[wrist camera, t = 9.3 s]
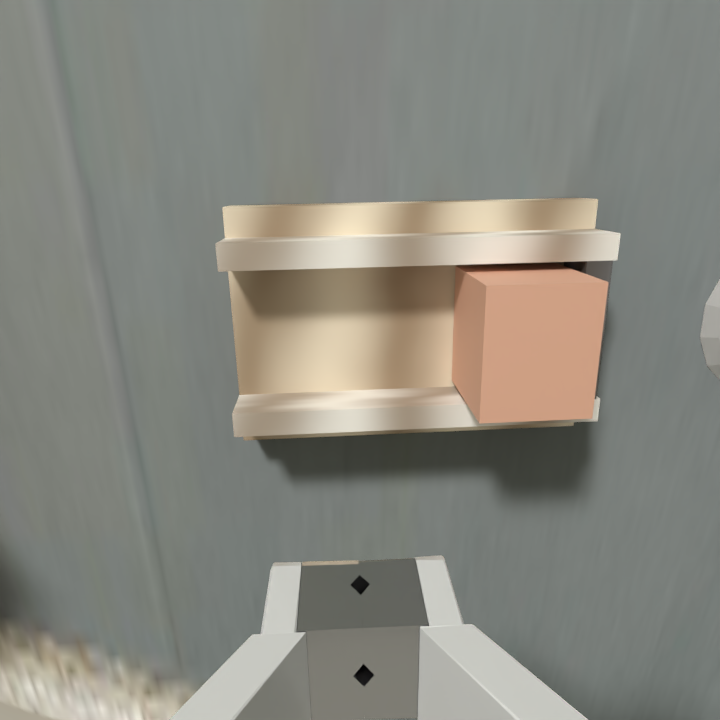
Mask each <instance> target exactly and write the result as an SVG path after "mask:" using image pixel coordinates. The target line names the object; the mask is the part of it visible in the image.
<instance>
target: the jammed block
mask: <svg viewBox="0 0 720 720" xmlns="http://www.w3.org/2000/svg"><path fill="white" fill-rule="evenodd" d="M607 291H608V282H607V281H604V280H601V279H599V278H596V277H593V276H590V275H587V274H585V273H582V272H579V271H576V270H573V269H571V268H568V267H565V266H562V265H560V264H557V263H531V264H496V265H461V266H456V267H455V296H454V326H453V355H452V381H453V383H454V385H455V386H456V388H457V389H458V391H459V392H460V394H461V396H462V397H463V399H464V400H465V402H466V403H467V405H468V406H469V408H470V410H471V411H472V413H473V414H474V416H475V417H476V419H477V421H478V422H479V423H502V422H525V421H548V420H571V419H592V416H593V408H594V400H595V391H596V383H597V375H598V366H599V358H600V349H601V341H602V333H603V324H604V316H605V308H606V299H607Z"/></svg>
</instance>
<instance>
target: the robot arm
mask: <svg viewBox="0 0 720 720" xmlns="http://www.w3.org/2000/svg"><path fill="white" fill-rule="evenodd" d="M364 716H365V719H402V718H418V720H588V719H587V718H585V717H584V716H583V715H582V714H581V713H579V712H578V711H577V710H576V709H575V708H573V707H572V706H571V705H570V704H569V703H567V702H566V701H565V700H564V699H562V698H561V697H560V696H559V695H558V694H556V693H555V692H554V691H553V690H552V689H550V688H549V687H548V686H547V685H546V684H544V683H543V682H542V681H541V680H540V679H538V678H537V677H536V676H535V675H533V674H532V673H531V672H530V671H529V670H527V669H526V668H525V667H524V666H523V665H521V664H520V663H519V662H518V661H517V660H515V659H514V658H513V657H512V656H511V655H509V654H508V653H507V652H506V651H505V650H503V649H502V648H501V647H500V646H498V645H497V644H496V643H495V642H494V641H492V640H491V639H490V638H489V637H488V636H486V635H485V634H484V633H483V632H482V631H480V630H479V629H478V628H477V627H476V626H474V625H473V624H464V622H463V619H462V616H461V612H460V609H459V605H458V602H457V599H456V595H455V592H454V588H453V585H452V582H451V578H450V575H449V572H448V568H447V565H446V561H445V559H444V557H443V556H442V555H440V556H425V557H414V558H407V559H387V560H366V561H312V562H303V563H301V562H285V563H274V564H273V565H272V567H271V571H270V578H269V584H268V590H267V597H266V603H265V610H264V616H263V622H262V629H261V634H257V635H251V636H250V637H249V638H248V639H247V640H246V641H245V642H244V643H243V644H242V645H241V646H240V647H239V648H238V650H237V651H236V652H235V653H234V654H233V655H232V656H231V657H230V658H229V659H228V660H227V661H226V662H225V663H224V664H223V665H222V666H221V667H220V668H219V669H218V670H217V671H216V672H215V673H214V674H213V675H212V676H211V677H210V678H209V679H208V680H207V681H206V682H205V683H204V684H203V685H202V687H201V688H200V689H199V690H198V691H197V692H196V693H195V694H194V695H193V696H192V697H191V698H190V699H189V700H188V701H187V702H186V703H185V704H184V705H183V706H182V707H181V708H180V709H179V710H178V711H177V712H176V713H175V714H174V715H173V716H172V717H171V718H170V719H169V720H363V719H364Z"/></svg>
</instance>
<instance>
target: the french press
mask: <svg viewBox="0 0 720 720" xmlns="http://www.w3.org/2000/svg"><path fill="white" fill-rule="evenodd" d="M700 340H701V344H702V348H703V351H704V355H705V359H706V363H707V367H708V368H709V369H710V370H711V371H712V372H713V373H714V374H715V376H716V377H717V378H718V379H719V380H720V279H719V281H718V283H717V285H716V287H715V288H714V290H713V292H712V294H711V295H710V297H709V299H708V301H707V302H706V304H705V310H704V316H703V322H702V328H701V334H700Z"/></svg>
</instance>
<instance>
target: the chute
mask: <svg viewBox="0 0 720 720" xmlns="http://www.w3.org/2000/svg"><path fill="white" fill-rule="evenodd" d="M597 204H598V199H588V198H555V199H510V200H465V201H419V202H374V203H329V204H284V205H239V206H226V207H223V208H222V209H223V219H224V230H225V239H223V240H221V241H219V242H218V243H216V254H217V264H218V272H222V271H228V274H229V285H230V296H231V307H232V317H233V328H234V339H235V350H236V361H237V372H238V383H239V394H240V395H239V398H238V400H237V403H236V406H235V408H234V411H233V413H232V418H233V429H234V437H244V440H263V439H286V438H308V437H331V436H354V435H376V434H399V433H421V432H444V431H467V430H489V429H512V428H535V427H557V426H573V425H574V422H589V421H598V413H599V405H600V398H599V397H597V389H598V381H599V372H600V364H601V356H602V347H603V339H604V331H605V322H606V314H607V306H608V298H609V289H610V281H611V273H612V264H613V260H617V258H618V250H619V242H620V234H621V233H615V232H610V231H604V230H599V229H595V223H596V214H597ZM531 263H557V264H560V265H562V266H565V267H568V268H571V269H573V270H576V271H579V272H582V273H585V274H587V275H590V276H593V277H596V278H599V279H601V280H604V281H607V282H608V291H607V299H606V308H605V316H604V324H603V333H602V341H601V349H600V358H599V366H598V375H597V383H596V391H595V400H594V408H593V416H592V419H571V420H548V421H525V422H502V423H479V422H478V421H477V419H476V417H475V416H474V414H473V413H472V411H471V410H470V408H469V406H468V405H467V403H466V402H465V400H464V399H463V397H462V396H461V394H460V392H459V391H458V389H457V388H456V386H455V385H454V383H453V381H452V355H453V326H454V296H455V267H456V266H461V265H496V264H531Z"/></svg>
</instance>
